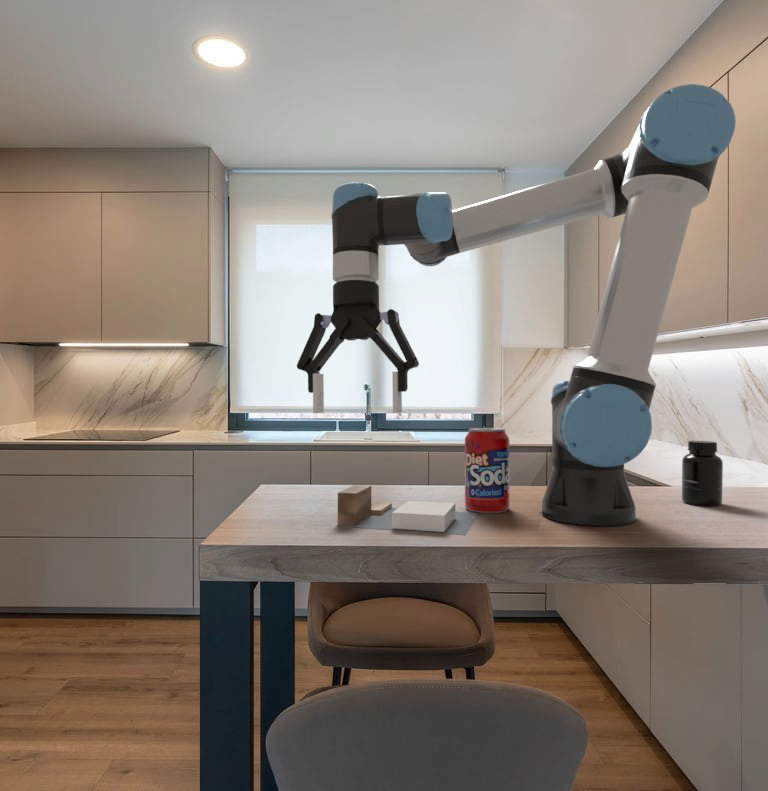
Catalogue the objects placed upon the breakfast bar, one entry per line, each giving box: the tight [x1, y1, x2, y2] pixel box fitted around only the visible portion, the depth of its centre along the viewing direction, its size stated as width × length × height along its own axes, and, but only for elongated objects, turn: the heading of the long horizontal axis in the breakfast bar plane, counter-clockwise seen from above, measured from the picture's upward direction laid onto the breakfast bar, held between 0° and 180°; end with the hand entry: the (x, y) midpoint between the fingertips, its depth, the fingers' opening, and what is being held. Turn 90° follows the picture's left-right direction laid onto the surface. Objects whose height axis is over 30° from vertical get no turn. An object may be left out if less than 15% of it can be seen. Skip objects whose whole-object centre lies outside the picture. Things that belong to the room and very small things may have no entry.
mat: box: [336, 507, 480, 536], centre depth 92 cm, size 20×16×1 cm
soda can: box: [464, 427, 510, 514], centre depth 100 cm, size 8×8×15 cm
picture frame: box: [392, 500, 456, 532], centre depth 89 cm, size 8×3×10 cm
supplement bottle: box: [681, 440, 724, 507], centre depth 109 cm, size 7×7×12 cm
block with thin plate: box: [337, 484, 393, 526], centre depth 95 cm, size 6×16×5 cm, turn 163°
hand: (357, 413), depth 92 cm, fingers open, 13 cm apart
